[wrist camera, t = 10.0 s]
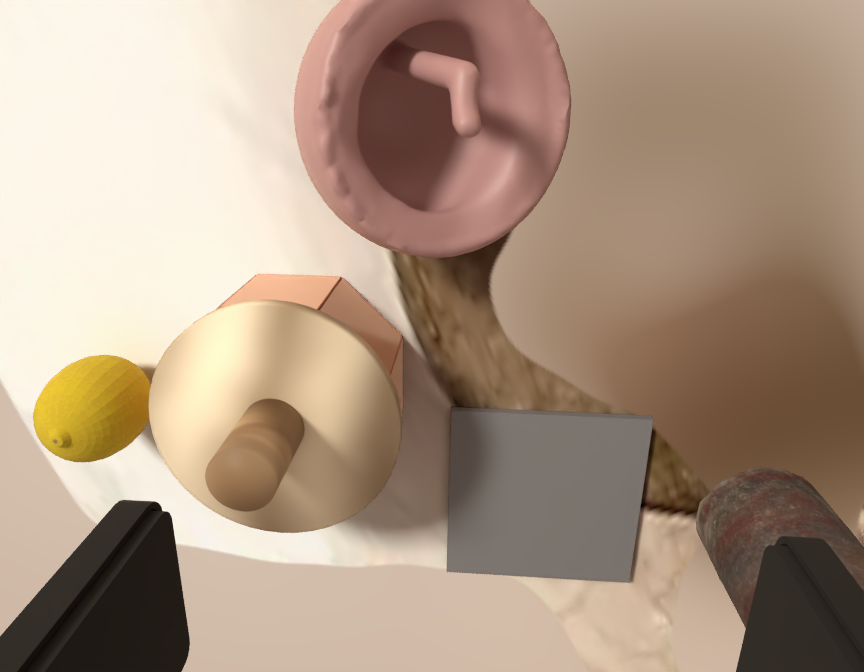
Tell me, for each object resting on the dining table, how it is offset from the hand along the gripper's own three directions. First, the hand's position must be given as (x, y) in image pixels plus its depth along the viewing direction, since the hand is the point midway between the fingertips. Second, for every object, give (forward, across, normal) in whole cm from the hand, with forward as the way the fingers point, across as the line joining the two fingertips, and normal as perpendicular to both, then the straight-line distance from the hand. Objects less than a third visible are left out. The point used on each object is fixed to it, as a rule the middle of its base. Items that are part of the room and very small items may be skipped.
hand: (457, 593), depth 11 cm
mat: (+28, -5, +17) cm, 33 cm away
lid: (+22, +10, +9) cm, 26 cm away
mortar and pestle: (+28, +2, -6) cm, 29 cm away
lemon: (+28, +21, +10) cm, 37 cm away
